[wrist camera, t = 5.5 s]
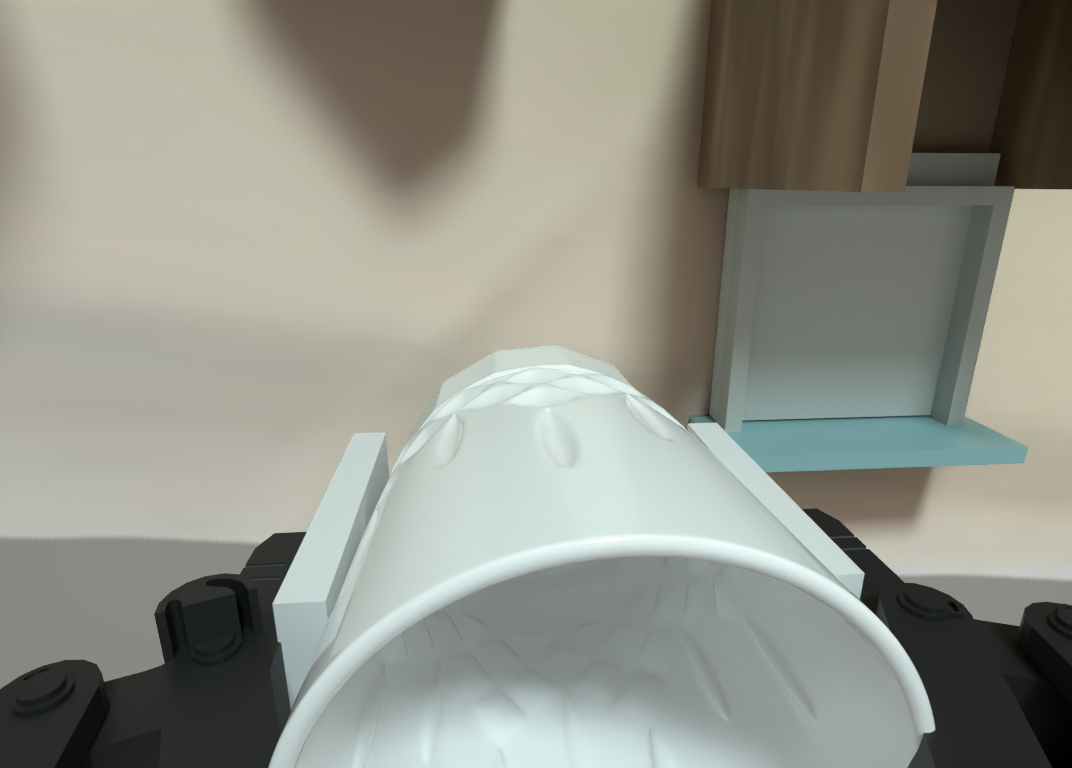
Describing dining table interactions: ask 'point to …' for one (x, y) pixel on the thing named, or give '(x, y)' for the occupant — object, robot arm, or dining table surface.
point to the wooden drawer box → (866, 95)
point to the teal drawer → (860, 321)
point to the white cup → (589, 602)
